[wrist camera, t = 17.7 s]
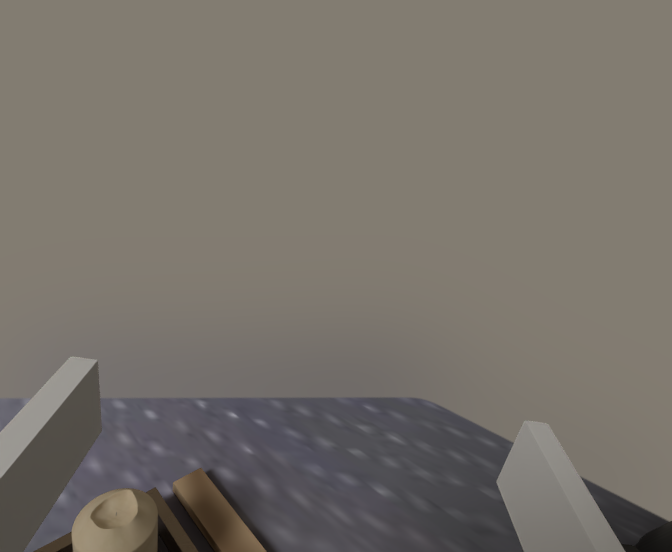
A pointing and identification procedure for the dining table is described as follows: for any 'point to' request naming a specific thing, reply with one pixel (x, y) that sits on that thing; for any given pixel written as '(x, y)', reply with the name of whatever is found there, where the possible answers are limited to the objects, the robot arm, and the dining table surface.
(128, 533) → the candle
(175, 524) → the wooden tray
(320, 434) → the dining table surface
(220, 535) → the strip
